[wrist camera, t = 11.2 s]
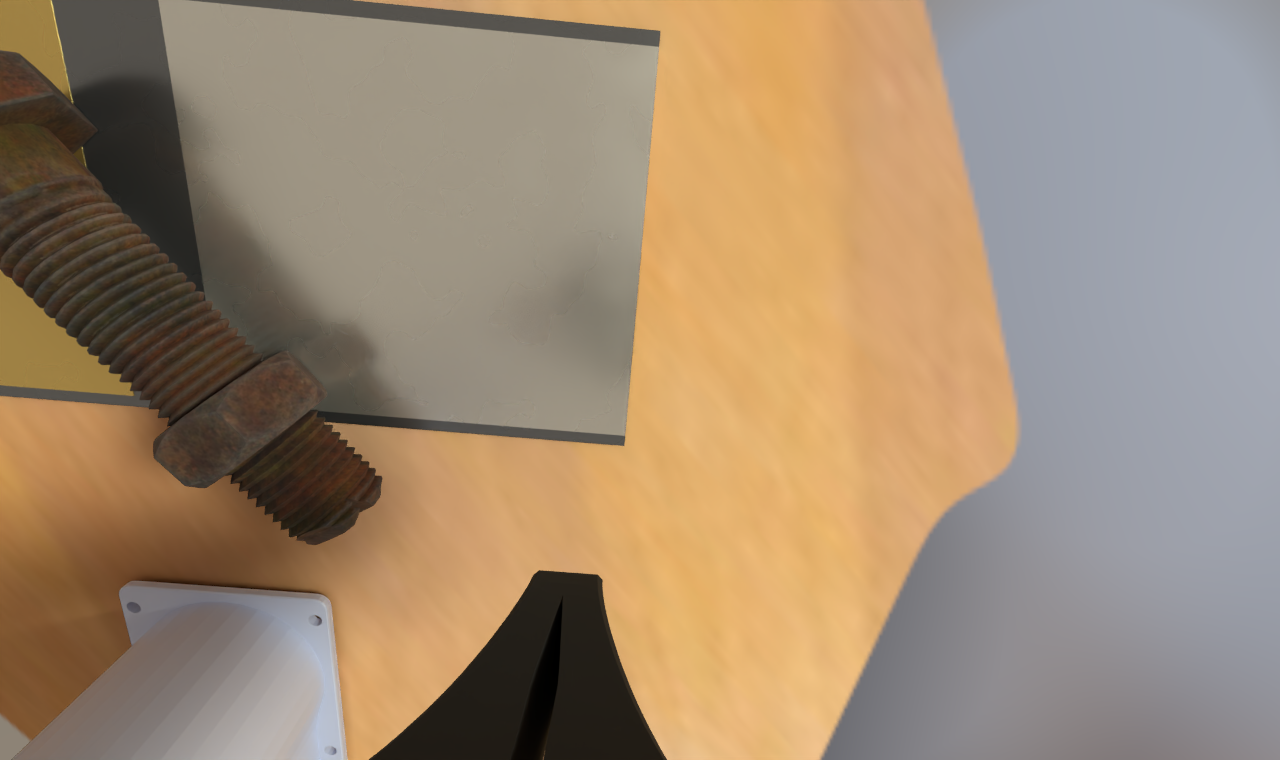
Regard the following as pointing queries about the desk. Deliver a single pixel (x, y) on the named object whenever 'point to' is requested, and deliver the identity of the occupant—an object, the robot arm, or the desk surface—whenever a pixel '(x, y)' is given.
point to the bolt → (163, 327)
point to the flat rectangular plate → (368, 199)
